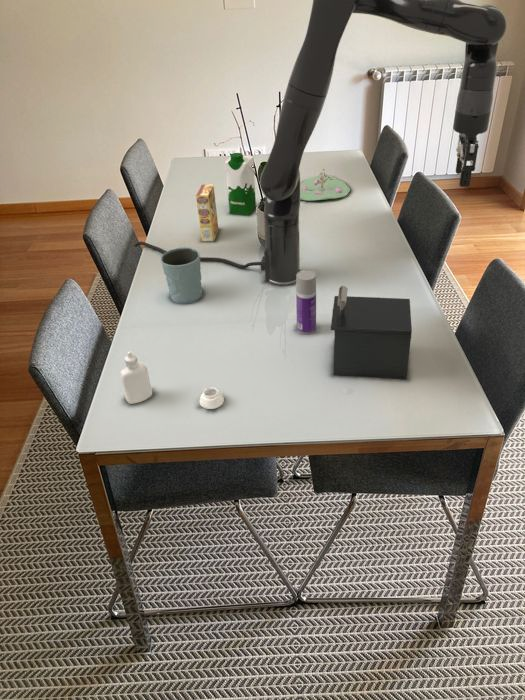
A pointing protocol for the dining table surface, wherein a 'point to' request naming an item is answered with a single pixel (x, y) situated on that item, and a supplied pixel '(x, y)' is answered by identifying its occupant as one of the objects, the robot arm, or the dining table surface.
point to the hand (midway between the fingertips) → (462, 179)
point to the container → (306, 302)
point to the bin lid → (371, 314)
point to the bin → (371, 354)
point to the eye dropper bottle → (135, 380)
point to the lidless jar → (211, 398)
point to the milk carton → (240, 184)
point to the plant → (323, 188)
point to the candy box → (207, 212)
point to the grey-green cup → (183, 274)
